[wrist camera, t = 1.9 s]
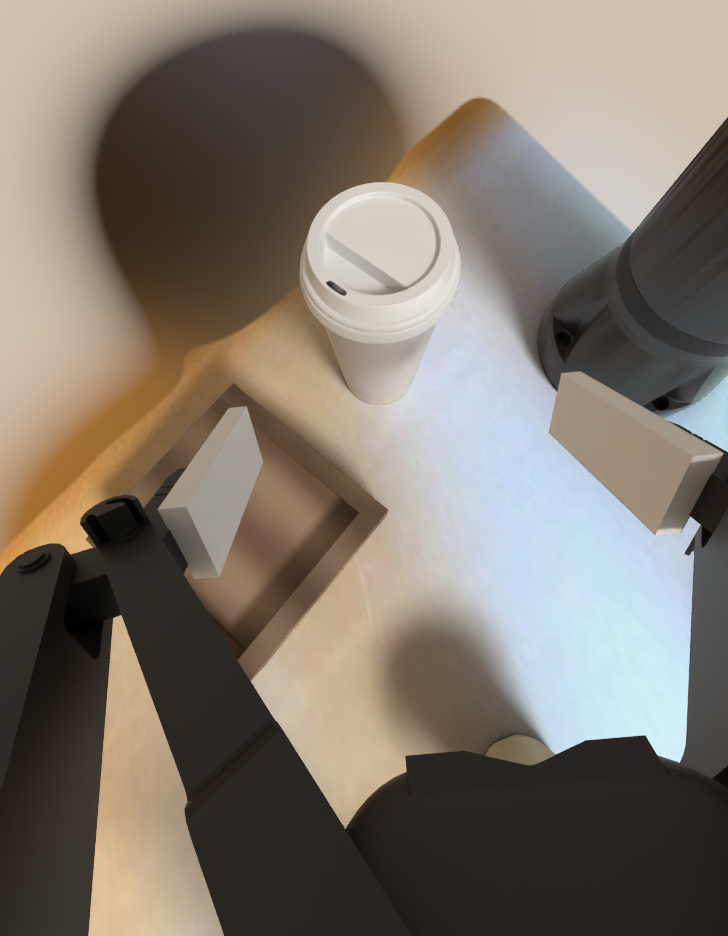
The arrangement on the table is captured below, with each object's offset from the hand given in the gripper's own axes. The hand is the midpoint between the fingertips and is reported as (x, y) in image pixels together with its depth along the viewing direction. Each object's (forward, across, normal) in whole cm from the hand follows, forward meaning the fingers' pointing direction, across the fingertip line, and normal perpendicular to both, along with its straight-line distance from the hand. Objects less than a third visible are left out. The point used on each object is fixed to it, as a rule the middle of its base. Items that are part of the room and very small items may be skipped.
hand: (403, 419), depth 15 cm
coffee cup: (+19, 0, -4) cm, 20 cm away
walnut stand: (+10, -12, -14) cm, 21 cm away
